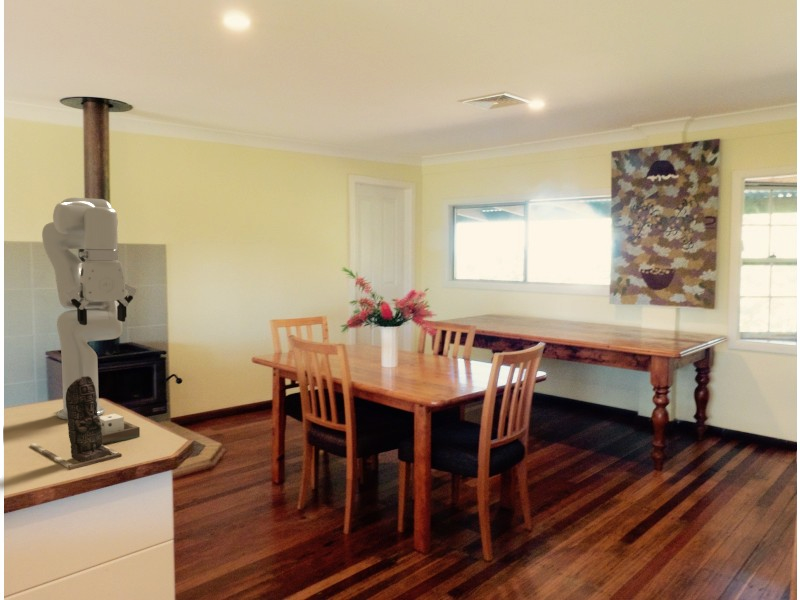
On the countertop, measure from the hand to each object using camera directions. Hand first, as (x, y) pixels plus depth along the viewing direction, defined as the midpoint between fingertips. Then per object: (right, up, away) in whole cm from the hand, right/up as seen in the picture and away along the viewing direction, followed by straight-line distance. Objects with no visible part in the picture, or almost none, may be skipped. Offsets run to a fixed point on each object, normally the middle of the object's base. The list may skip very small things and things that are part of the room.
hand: (102, 322), depth 160 cm
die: (-1, -30, +6) cm, 31 cm away
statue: (+1, -33, -9) cm, 34 cm away
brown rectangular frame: (-5, -32, -4) cm, 33 cm away
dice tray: (-1, -31, +7) cm, 32 cm away
